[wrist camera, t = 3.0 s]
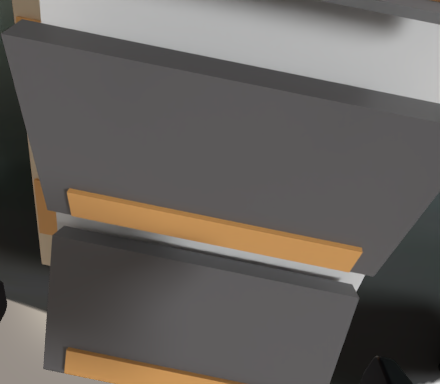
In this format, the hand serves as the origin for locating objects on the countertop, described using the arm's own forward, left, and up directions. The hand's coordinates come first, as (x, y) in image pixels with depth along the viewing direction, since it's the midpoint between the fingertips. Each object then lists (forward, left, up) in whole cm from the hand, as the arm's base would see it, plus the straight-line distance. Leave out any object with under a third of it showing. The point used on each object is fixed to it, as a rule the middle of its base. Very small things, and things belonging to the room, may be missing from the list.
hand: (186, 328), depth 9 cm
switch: (0, +6, -5) cm, 8 cm away
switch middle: (0, -2, -5) cm, 5 cm away
